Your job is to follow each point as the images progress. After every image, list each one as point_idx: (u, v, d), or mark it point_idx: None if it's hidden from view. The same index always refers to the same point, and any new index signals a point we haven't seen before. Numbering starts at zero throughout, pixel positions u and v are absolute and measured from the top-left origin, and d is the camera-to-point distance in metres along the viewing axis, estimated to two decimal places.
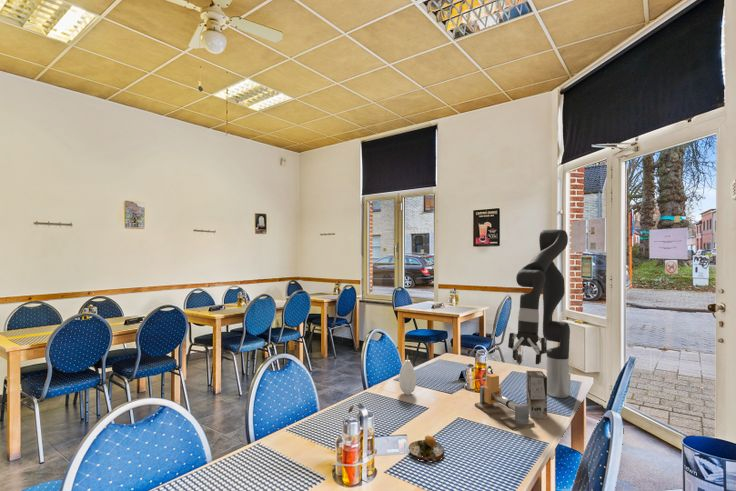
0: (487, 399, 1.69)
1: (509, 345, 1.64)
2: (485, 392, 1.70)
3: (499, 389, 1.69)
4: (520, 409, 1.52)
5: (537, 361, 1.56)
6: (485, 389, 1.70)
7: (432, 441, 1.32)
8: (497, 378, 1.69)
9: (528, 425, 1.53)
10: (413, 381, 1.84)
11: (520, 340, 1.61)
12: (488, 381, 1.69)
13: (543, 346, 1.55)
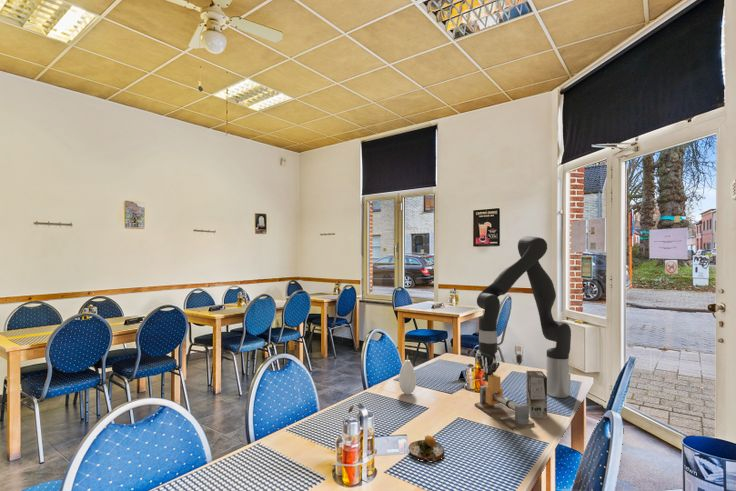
0: (488, 400, 1.68)
1: (481, 367, 1.75)
2: (487, 393, 1.69)
3: (500, 390, 1.69)
4: (520, 409, 1.52)
5: (487, 379, 1.72)
6: (486, 390, 1.69)
7: (432, 441, 1.32)
8: (498, 379, 1.68)
9: (528, 425, 1.53)
10: (413, 381, 1.84)
11: (482, 359, 1.74)
12: (490, 382, 1.68)
13: (491, 369, 1.69)
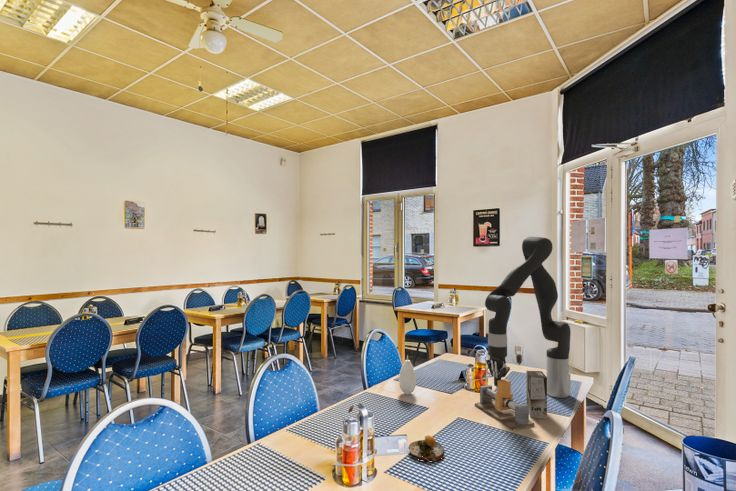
0: (498, 406, 1.62)
1: (490, 371, 1.69)
2: (496, 398, 1.63)
3: (511, 395, 1.63)
4: (520, 409, 1.52)
5: (496, 384, 1.66)
6: (496, 395, 1.63)
7: (432, 441, 1.32)
8: (509, 384, 1.62)
9: (528, 425, 1.53)
10: (413, 381, 1.84)
11: (492, 364, 1.68)
12: (500, 387, 1.63)
13: (501, 373, 1.63)
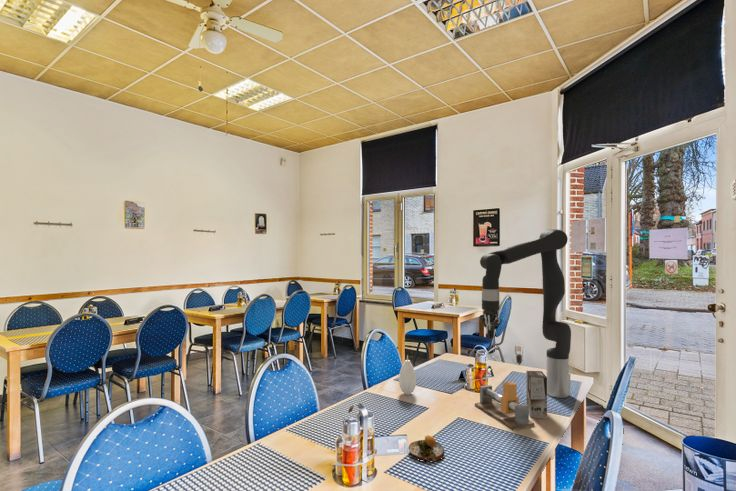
0: (504, 409, 1.58)
1: (484, 325, 1.83)
2: (502, 401, 1.60)
3: (517, 398, 1.59)
4: (520, 409, 1.52)
5: (489, 336, 1.80)
6: (502, 398, 1.60)
7: (432, 441, 1.32)
8: (515, 386, 1.59)
9: (528, 425, 1.53)
10: (413, 381, 1.84)
11: (485, 317, 1.82)
12: (505, 390, 1.59)
13: (494, 325, 1.77)
